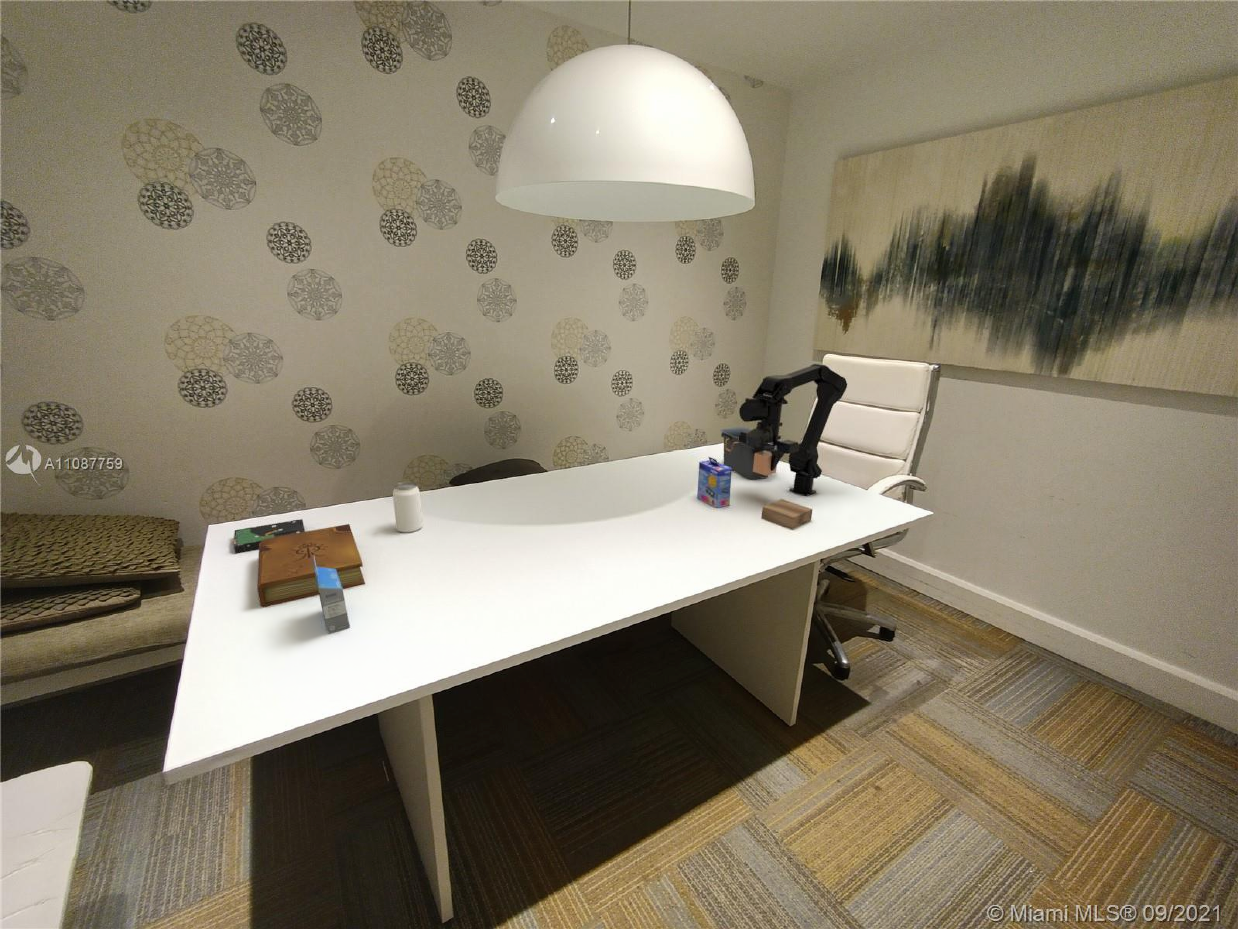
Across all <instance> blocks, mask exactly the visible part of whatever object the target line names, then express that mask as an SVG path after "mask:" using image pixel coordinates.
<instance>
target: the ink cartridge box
mask: <svg viewBox="0 0 1238 929" xmlns="http://www.w3.org/2000/svg"><path fill="white" fill-rule="evenodd" d="M708 459H709V460H703V461H702V460H701V461H699V462H698V478H697V480H698V481H697V496H696V498H697V499H698V500H700V501H702V502H703V503H706V504H708V505H710V506H711V507H713V508H715V509H718V508H724V507H728V506H730V503H731V502H730V500H731V486H732V474H733V473H732V468H730V467H728V466H726V465H724V463H723V464H722V463H720V462H719V461H718V460H717V459H715V458H714V457H710V456H708Z"/></svg>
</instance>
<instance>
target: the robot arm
mask: <svg viewBox="0 0 1238 929" xmlns="http://www.w3.org/2000/svg"><path fill="white" fill-rule="evenodd" d="M811 382H813V383H814V384H816V385H817V386H816V390H815V392H816V397H817V400H816V403H815V406H814V410H813V411H812V414H811V416H810V419H809V421H808V425H807V427H806V430H805V433H804V435H803V437H802V440H801V442H800V443H799V442H798V441H795V440H790V439H785V440H781V438H782V435H779V434H780V427H782V426H783V422H782V421H781V418H782V411H783V405H788V403H789V402H788V400H786V398H785V397H786V396H788V395H790V394H791V392H792V390H794V389H795V388H799V387H801V386H803V385H807V384H808V383H811ZM847 388H848V382H847V379H846V378H845V377H844V376H841V375H840V374H838V373H837V372H835V371H833V370H832V369H830V367H829V366H827V365H825V364H819V363H813V364H811V365H810V366H807V367H804V368H801V369H798V370H795V371H793V372H790V373H787V374H782V375H781V374H776V375H768V376H767V375H766V376H765V377H764V378H763V379H762V382H761V383H760V384H759V386H758V388H757V389H756V390H755V392H754V394H753V395H752V398H750V397H748V398H747V397H746V398H745V400H744V402H743V403H742V404H741V405H740V407H739V410H738V412H739V417H740V419H741V420H742V421H743V422H745V423H748V422H757V421H758V422H757V423H756V427H755V428H752V429H753V430H748V431H743V432H741V433H740V434H739V437H738V441H742V442H747V443H746V445H747V446H749V447H750V448H751V449H752V452H753V455H754V456H755V453H757V452H761V451H763V449H764V444H768V445H771V446H775V449H774V450H771V451H770V452H771V454H772V459H771V471H773V470H774V469H775V467H776V466H777V467H778V464H779V462H781V459H782V458H783V456H785V454H786V455H788V463H789V470H790V472H792V473H795V474H794V475H795V476H794V480H793V486H792V487H791V488H789V489H788V492H789V491H790V492H792V493H795V494H798V495H802V496H804V497H806V496H809V495H812V494H816V493H817V490H815V489H813V488H814V480H815V479H818V478H820V477H821V474H822V473H823V469H821V466H819V464H818V459H819V453H818V445H819V443H820V441H821V437H822V435H823V433H824V430H825V428H826V424H827V422H828V419H829V417H830V414H831V412H832V409H833V407H834V405H835V404H836V403H837V402H838V401H840V399H842V397H843V396H844V394H845V392H846V390H847ZM778 440H780V441H778ZM772 442H773V443H772Z"/></svg>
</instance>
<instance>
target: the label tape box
mask: <svg viewBox="0 0 1238 929" xmlns="http://www.w3.org/2000/svg"><path fill="white" fill-rule="evenodd" d="M314 571H315V576H316V581H317V586H318V591H319V595H318V597H319V601H320V605H321V610H322V616H323V620H324V624H325V627H326V631H327V633H328V634H332V633H335V632H340V631H343V630H345V629H349V628H351V625H350V621H349V616H348V610H347V606H346V600H345V595H344V589H342V585H341V582H340V579H339V576H338V573H337V570H336V569H331V568H323V567H316V562H315V555H314Z"/></svg>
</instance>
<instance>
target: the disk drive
mask: <svg viewBox="0 0 1238 929" xmlns="http://www.w3.org/2000/svg"><path fill="white" fill-rule="evenodd" d="M304 525H305V524H304V520H303V518H301V519H296V520H295V519H293V520H288V521H281V522H277V523H272V524H271V523H270V524H265V525H258V526H253V527H246V528H241V529H234V533H233V552H234V554H235V555H236V554H241V553H242V554H243V553H247V552H248V553H249V552H253V551H259V543H260V542H261V541H262V539H266V538H272V537H278V536H284V535H289V534H295V533H301V532H306V531H305V526H304Z"/></svg>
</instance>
